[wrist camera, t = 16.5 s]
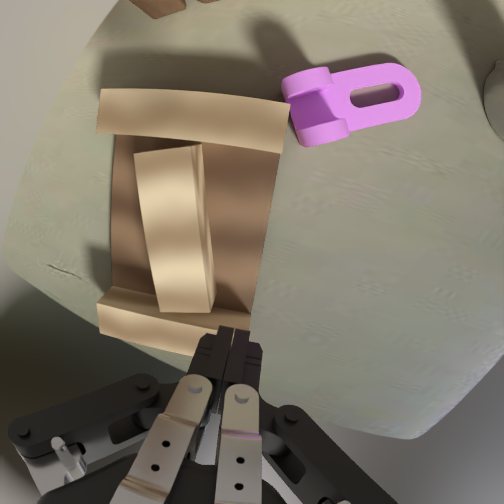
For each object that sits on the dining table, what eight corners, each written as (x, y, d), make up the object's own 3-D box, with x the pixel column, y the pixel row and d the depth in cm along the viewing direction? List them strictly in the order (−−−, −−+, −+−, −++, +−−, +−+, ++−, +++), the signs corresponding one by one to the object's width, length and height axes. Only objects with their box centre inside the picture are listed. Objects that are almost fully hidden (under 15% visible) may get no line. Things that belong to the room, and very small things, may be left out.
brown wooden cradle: (125, 93, 27) (101, 88, 22) (287, 108, 27) (290, 104, 22) (117, 310, 36) (100, 333, 32) (246, 337, 36) (242, 365, 31)
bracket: (299, 144, 28) (307, 148, 22) (280, 88, 26) (282, 76, 20) (421, 114, 26) (456, 113, 19) (405, 61, 24) (437, 48, 18)
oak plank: (150, 150, 28) (133, 153, 24) (201, 144, 28) (190, 146, 24) (171, 292, 33) (160, 312, 30) (217, 292, 33) (210, 312, 29)
